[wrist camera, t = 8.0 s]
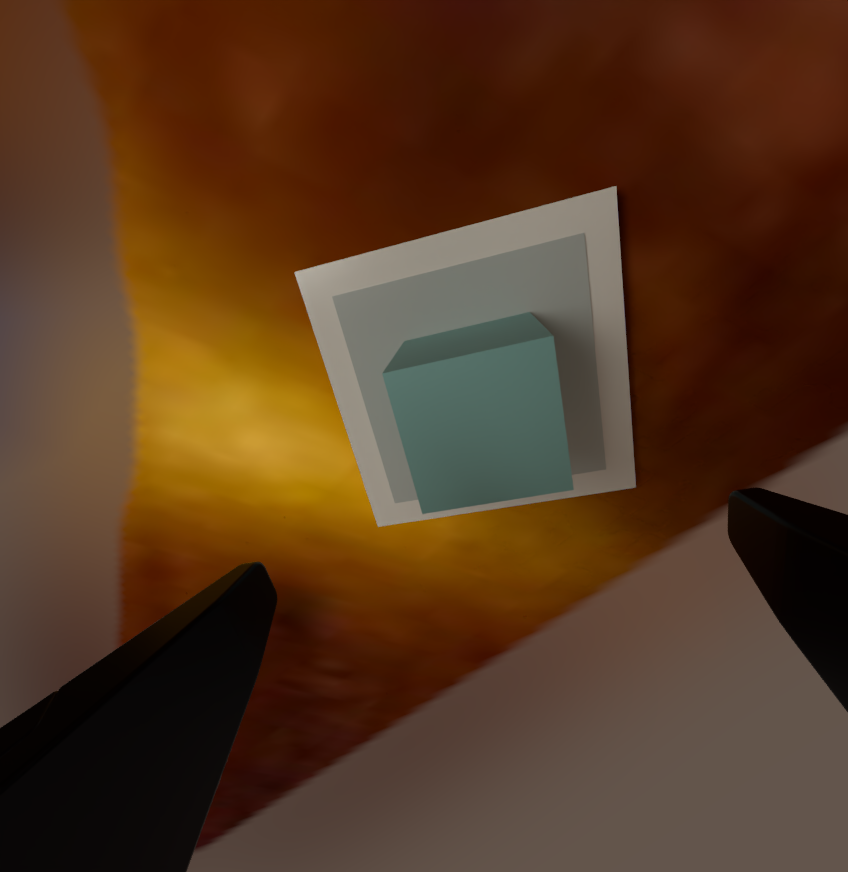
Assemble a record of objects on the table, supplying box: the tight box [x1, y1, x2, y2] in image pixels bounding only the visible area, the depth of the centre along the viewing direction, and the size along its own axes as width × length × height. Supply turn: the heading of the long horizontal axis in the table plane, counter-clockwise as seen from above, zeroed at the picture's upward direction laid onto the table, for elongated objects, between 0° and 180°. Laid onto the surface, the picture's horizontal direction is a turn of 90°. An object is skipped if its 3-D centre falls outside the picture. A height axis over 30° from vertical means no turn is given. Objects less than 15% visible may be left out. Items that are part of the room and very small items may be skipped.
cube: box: [382, 312, 574, 514], centre depth 16 cm, size 5×5×5 cm
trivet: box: [295, 186, 636, 527], centre depth 18 cm, size 12×12×1 cm
